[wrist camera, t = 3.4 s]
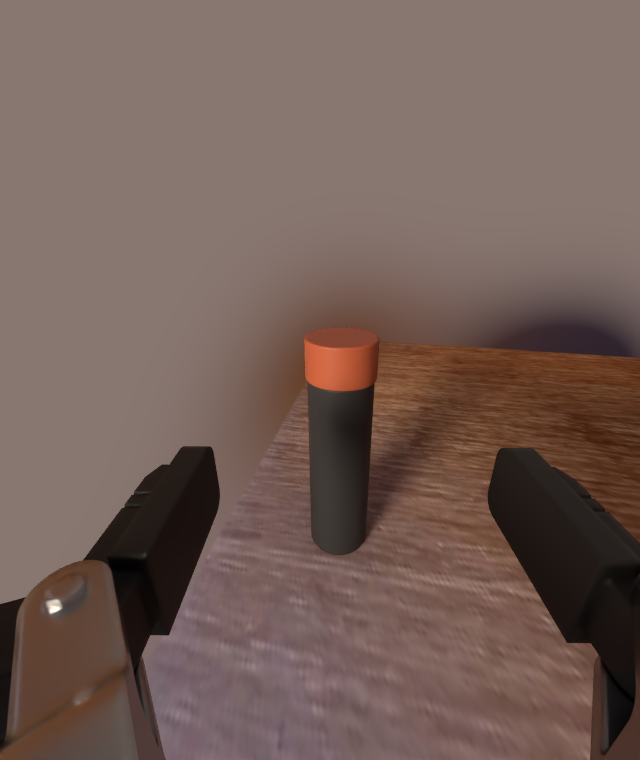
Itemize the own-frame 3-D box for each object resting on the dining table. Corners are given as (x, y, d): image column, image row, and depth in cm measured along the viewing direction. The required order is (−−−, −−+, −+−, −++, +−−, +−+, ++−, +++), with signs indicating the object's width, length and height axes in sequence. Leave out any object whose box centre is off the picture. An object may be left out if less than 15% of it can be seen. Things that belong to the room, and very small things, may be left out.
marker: (306, 554, 19) (298, 347, 14) (313, 508, 22) (309, 326, 17) (368, 559, 18) (381, 349, 14) (366, 512, 22) (377, 327, 17)
